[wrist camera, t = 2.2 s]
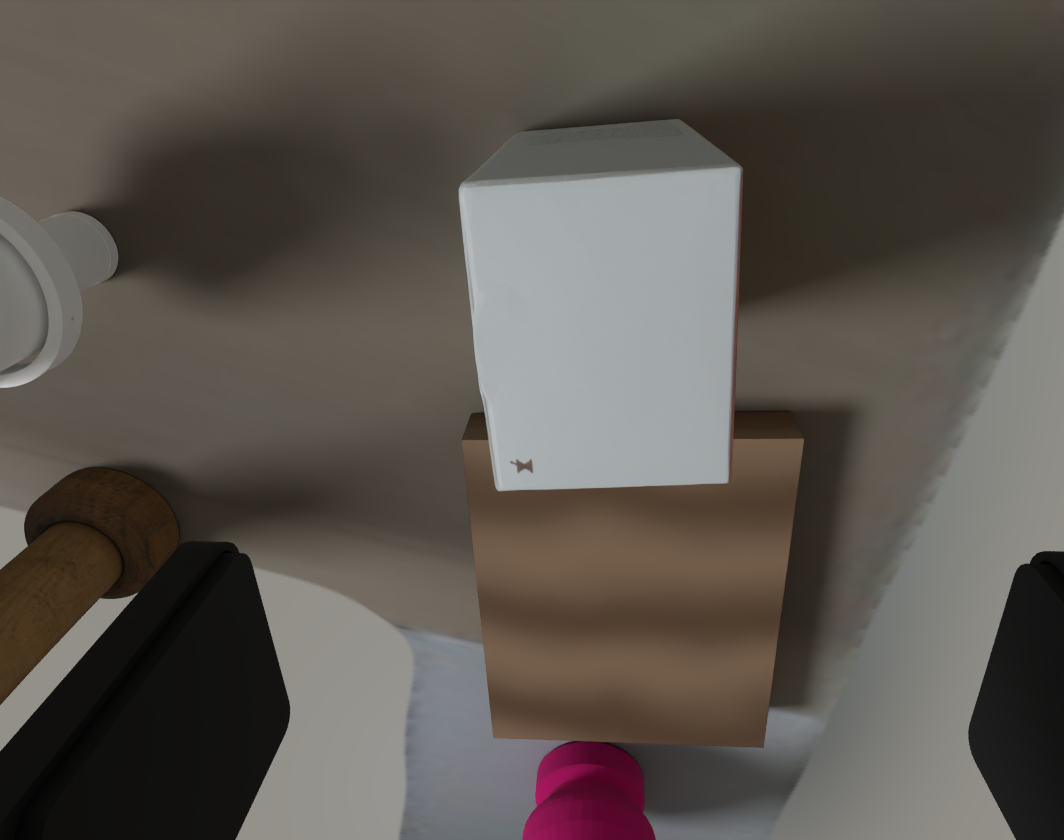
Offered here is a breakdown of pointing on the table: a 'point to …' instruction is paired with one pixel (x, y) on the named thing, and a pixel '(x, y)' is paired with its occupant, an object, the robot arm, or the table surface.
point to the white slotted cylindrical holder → (46, 286)
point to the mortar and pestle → (78, 561)
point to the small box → (606, 305)
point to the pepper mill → (588, 795)
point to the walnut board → (636, 597)
